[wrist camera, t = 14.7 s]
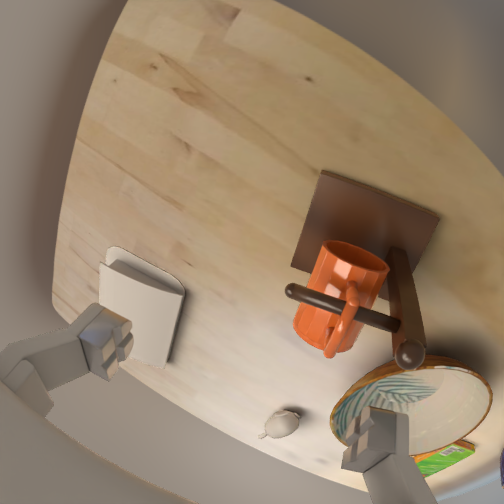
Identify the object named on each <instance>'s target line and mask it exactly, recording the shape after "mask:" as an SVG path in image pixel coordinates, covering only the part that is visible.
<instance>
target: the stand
mask: <svg viewBox="0 0 504 504" xmlns="http://www.w3.org/2000/svg"><path fill="white" fill-rule="evenodd" d="M438 221H439V217H438V215H437V214H436V213H433V212H431V211H429V210H426V209H424V208H422V207H419V206H417V205H415V204H412V203H410V202H407V201H405V200H402V199H400V198H397V197H395V196H392V195H390V194H387V193H385V192H382V191H380V190H377V189H374V188H372V187H369V186H366V185H364V184H361V183H358V182H356V181H353V180H350V179H347V178H344V177H341V176H339V175H336V174H333V173H330V172H327V171H324V170H321V173H320V176H319V179H318V183H317V186H316V189H315V192H314V195H313V199H312V202H311V205H310V208H309V211H308V214H307V217H306V220H305V223H304V227H303V230H302V233H301V236H300V239H299V242H298V245H297V248H296V251H295V254H294V257H293V260H292V263H291V267H293V268H296V269H299V270H302V271H305V272H307V273H310V274H311V273H312V270H313V267H314V264H315V262H316V259H317V256H318V254H319V251H320V248H321V245H322V243H323V241H326V240H337V241H342V242H346V243H350V244H352V245H355V246H358V247H360V248H363V249H365V250H367V251H369V252H371V253H373V254H374V255H376V256H378V257H379V258H381V259H382V260H383V261H384V262H385V263H386V264H388V266H389V268H390V271H389V274H388V276H387V278H386V280H385V283H384V285H383V287H382V289H381V291H380V294H379V296H378V297H379V298H382V299H385V300H388V301H389V305H390V316H388V315H385V314H382V313H379V312H376V311H374V310H371V309H368V308H365V307H362V306H359V308H358V310H357V312H356V315H355V317H354V319H353V320H355V321H358V322H361V323H364V324H367V325H370V326H373V327H376V328H379V329H382V330H385V331H388V332H391V333H392V348H393V357H395V360H396V363H397V364H398V366H399V367H400V368H402V369H404V370H413V369H416V368H418V367H419V366H420V365H421V364H422V363H423V361H424V358H425V348H426V346H427V344H426V338H425V333H424V327H423V322H422V316H421V311H420V307H419V302H418V297H417V293H416V288H415V284H414V280H413V275H412V273H413V271H414V270H415V268H416V266H417V264H418V262H419V260H420V258H421V256H422V254H423V252H424V250H425V248H426V246H427V244H428V242H429V240H430V238H431V236H432V234H433V232H434V230H435V228H436V226H437V224H438ZM285 294H286V296H287V297H289V298H291V299H294V300H297V301H299V302H302V303H305V304H308V305H311V306H314V307H317V308H320V309H322V310H325V311H328V312H331V313H334V314H337V315H340V316H341V313H342V311H343V309H344V307H345V305H346V302H347V301H344V300H341V299H339V298H336V297H333V296H330V295H327V294H324V293H321V292H318V291H315V290H313V289H310V288H307V287H304V286H301V285H298V284H295V283H290V284H288V285H287V286H286V288H285Z"/></svg>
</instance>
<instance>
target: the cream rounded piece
mask: <svg viewBox="0 0 504 504" xmlns="http://www.w3.org/2000/svg"><path fill="white" fill-rule="evenodd" d="M298 418H301V416H299V415H298V414H297V413H292V412H290V411H287V410H283V411H278V412H276V413H274V416H273V417H271V418H270V419H269V420H268V421H267V422H266V424H265V433H263V434H261V435H258V438H259V439H262V438H264V437H266V436H267V435H268V436H269V437H271V438H282V437H285V436H288V435H290V434H292V433H293V432H294V431H295V430H296V429H297V428H298V425H299V421H298Z"/></svg>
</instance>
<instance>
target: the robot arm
mask: <svg viewBox="0 0 504 504" xmlns="http://www.w3.org/2000/svg"><path fill="white" fill-rule="evenodd" d="M132 328H133V327H132V321H131V320H129V319H127V318H125V317H123V316H121V315H119V314H117V313H115V312H113V311H111V310H109V309H107V308H106V307H104V306H102V305H100V304H98V303H96V302H95V303H93V304H91V305H90V306H89V307H88V308H87V309H86V310H85V311H84V312H83V313H82V314H81V315H80V316H79V317H78V318H77V319H76V320H75V321H74V322H73V323H72V324H71V325H70V326H69V327H68V328H67V329H66V330H64V329H59V330H55V331H52V332H49V333H45V334H42V335H38V336H35V337H32V338H28V339H25V340H22V341H18V342H15V343H11V344H9V345H8V346H7V347H6V348H5V349H4V350H3V351H2V352H1V353H0V504H199V503H197V502H194V501H191V500H189V499H186V498H184V497H181V496H179V495H177V494H174V493H172V492H170V491H167V490H165V489H163V488H161V487H158V486H157V485H154V484H152V483H150V482H148V481H146V480H144V479H142V478H140V477H138V476H136V475H134V474H132V473H130V472H128V471H126V470H125V469H123V468H121V467H119V466H117V465H116V464H114V463H112V462H110V461H109V460H107V459H105V458H103V457H102V456H100V455H99V454H97V453H95V452H94V451H92V450H90V449H89V448H87V447H86V446H84V445H83V444H81V443H80V442H78V441H76V440H75V439H74V438H72V437H71V436H69V435H68V434H66V433H64V432H63V431H62V430H61V429H59V428H57V427H56V426H55V425H54V424H52V423H51V422H50V421H48V420H47V419H46V418H45V417H46V415H47V414H48V412H49V411H50V410H51V409H52V407H53V406H54V402H53V400H52V398H51V397H50V395H49V393H48V391H50V390H52V389H54V388H57V387H59V386H61V385H63V384H65V383H68V382H70V381H72V380H74V379H76V378H79V377H81V376H83V375H85V374H87V373H89V371H90V372H92V373H94V374H96V375H98V376H99V377H101V378H103V379H105V380H107V381H110V379H111V378H112V377H113V376H114V374H115V373H116V372H117V370H118V369H119V363H118V362H121V361H124V360H126V358H127V357H128V356H129V354H130V352H131V350H132V348H133V343H134V337H133V335H132V333H131V332H130V330H131V329H132ZM345 441H346V443H347V445H348V448H347V449H346V450H345V451H344V453H343V460H342V466H341V469H346V470H350V471H355V472H360V473H363V477H364V480H365V483H366V486H367V488H368V491H369V494H370V497H371V500H372V502H373V504H438V503H437V501H436V499H435V498H434V496H433V494H432V492H431V490H430V488H429V486H428V485H427V483H426V481H425V479H424V477H423V475H422V474H421V472H420V470H419V468H418V466H417V464H416V463H415V461H414V459H413V457H410V456H409V417H408V415H407V414H404V413H399V412H394V411H391V410H387V409H382V408H377V407H373V406H366V407H365V408H364V409H363V410H362V413H361V415H360V416H357V417H355V418H354V419H353V421H352V422H351V424H350V426H349V428H348V431H347V434H346V440H345Z"/></svg>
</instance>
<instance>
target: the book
mask: <svg viewBox="0 0 504 504" xmlns="http://www.w3.org/2000/svg"><path fill="white" fill-rule="evenodd" d="M184 298H185V291H184V287H183V286H182V284H181V283H180V281H179V280H178V279H176V278H175V277H174V276H172V275H171V274H169V273H167V272H165V271H163V270H161V269H160V268H158V267H156V266H154V265H152V264H150V263H148V262H146V261H145V260H143V259H141V258H139V257H137V256H135V255H133V254H132V253H130V252H128V251H126V250H124V249H123V248H120V247H116V246H112V247H109V248H108V250H107V253H106V264H104V263H102V262H100V278H99V304H100V305H102V306H104V307H106V308H107V309H109V310H111V311H113V312H115V313H117V314H119V315H121V316H123V317H125V318H127V319H129V320H131V321H132V327H133V328H132V329H131V330H130V332H131V333H132V335H133V337H134V343H133V348H132V350H131V352H130V354H129V356H128V357H129V358H131V359H134V360H136V361H139V362H141V363H144V364H147V365H150V366H154V367H158V368H162V369H165V365H166V361H167V360H168V359H169V356H170V352H171V348H172V344H173V340H174V336H175V332H176V328H177V324H178V320H179V317H180V313H181V309H182V305H183V301H184Z"/></svg>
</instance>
